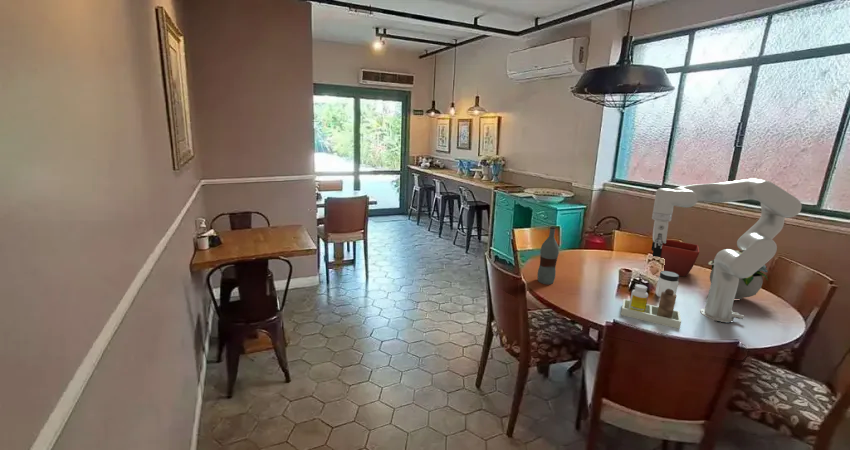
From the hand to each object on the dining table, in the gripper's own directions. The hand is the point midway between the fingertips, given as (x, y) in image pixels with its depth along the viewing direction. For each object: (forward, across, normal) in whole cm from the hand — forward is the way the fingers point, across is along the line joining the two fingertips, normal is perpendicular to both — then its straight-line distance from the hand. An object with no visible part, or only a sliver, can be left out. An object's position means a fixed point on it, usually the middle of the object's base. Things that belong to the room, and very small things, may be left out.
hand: (655, 253), depth 185 cm
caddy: (+27, -11, 0) cm, 29 cm away
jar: (+27, +22, -9) cm, 37 cm away
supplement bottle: (+26, -11, +5) cm, 28 cm away
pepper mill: (+26, -11, -6) cm, 29 cm away
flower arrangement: (+28, +40, -40) cm, 63 cm away
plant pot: (+28, +69, -17) cm, 77 cm away
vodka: (+26, +8, +48) cm, 55 cm away
